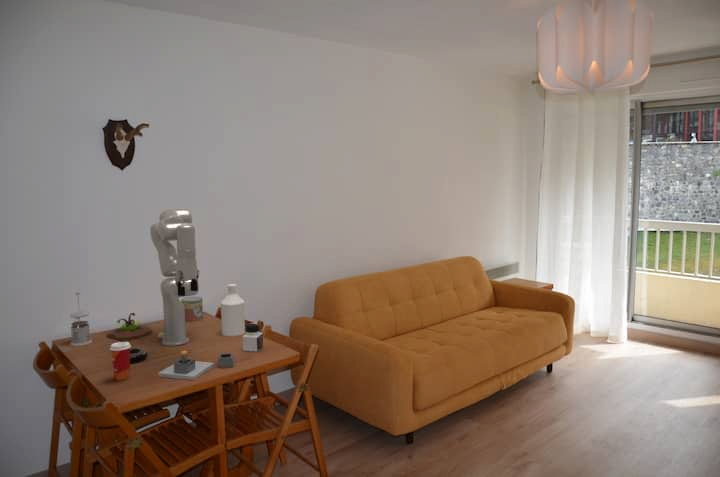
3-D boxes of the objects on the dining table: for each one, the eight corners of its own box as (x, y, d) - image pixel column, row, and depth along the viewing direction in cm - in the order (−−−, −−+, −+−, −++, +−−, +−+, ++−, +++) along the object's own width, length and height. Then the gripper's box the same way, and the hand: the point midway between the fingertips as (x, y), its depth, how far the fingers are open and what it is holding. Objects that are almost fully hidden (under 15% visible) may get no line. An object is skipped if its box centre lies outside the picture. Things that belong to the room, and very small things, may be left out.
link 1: (174, 372, 219) (173, 362, 218) (182, 367, 225) (182, 358, 224) (187, 373, 217) (186, 364, 217) (195, 368, 223) (195, 359, 223)
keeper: (158, 376, 219) (157, 353, 217) (180, 363, 234) (179, 341, 233) (193, 380, 215) (192, 357, 213) (214, 366, 230) (213, 344, 229)
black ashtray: (124, 355, 244) (124, 347, 244) (151, 355, 245) (150, 346, 244) (114, 364, 233) (114, 355, 232) (142, 364, 233) (142, 355, 233)
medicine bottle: (257, 352, 248) (256, 326, 247) (242, 351, 250) (242, 325, 248) (263, 347, 255) (262, 322, 254) (249, 346, 257) (248, 321, 255)
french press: (72, 346, 256) (69, 295, 253) (66, 341, 265) (62, 291, 261) (95, 342, 262) (91, 292, 259) (88, 337, 271) (85, 288, 268)
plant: (159, 333, 278) (158, 312, 276) (124, 343, 262) (122, 321, 261) (136, 327, 289) (135, 306, 288) (101, 336, 273) (100, 314, 272)
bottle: (217, 333, 277) (215, 285, 274) (236, 328, 286) (234, 281, 283) (230, 337, 270) (229, 288, 267) (250, 332, 278) (248, 284, 275)
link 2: (218, 367, 228) (218, 358, 228) (219, 362, 234) (219, 353, 234) (233, 366, 229) (232, 357, 229) (233, 361, 235) (233, 353, 235)
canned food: (192, 323, 295) (191, 302, 294) (177, 320, 301) (176, 299, 299) (207, 318, 305) (206, 297, 303) (193, 316, 310) (192, 295, 309)
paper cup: (115, 374, 221) (113, 341, 219) (135, 374, 221) (133, 340, 220) (108, 382, 213) (106, 347, 211) (128, 381, 213) (126, 347, 212)
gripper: (189, 250, 240) (191, 288, 242) (166, 256, 223) (168, 297, 225) (205, 251, 238) (206, 289, 240) (182, 257, 221) (184, 298, 223)
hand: (188, 293), depth 232 cm, fingers open, 9 cm apart
